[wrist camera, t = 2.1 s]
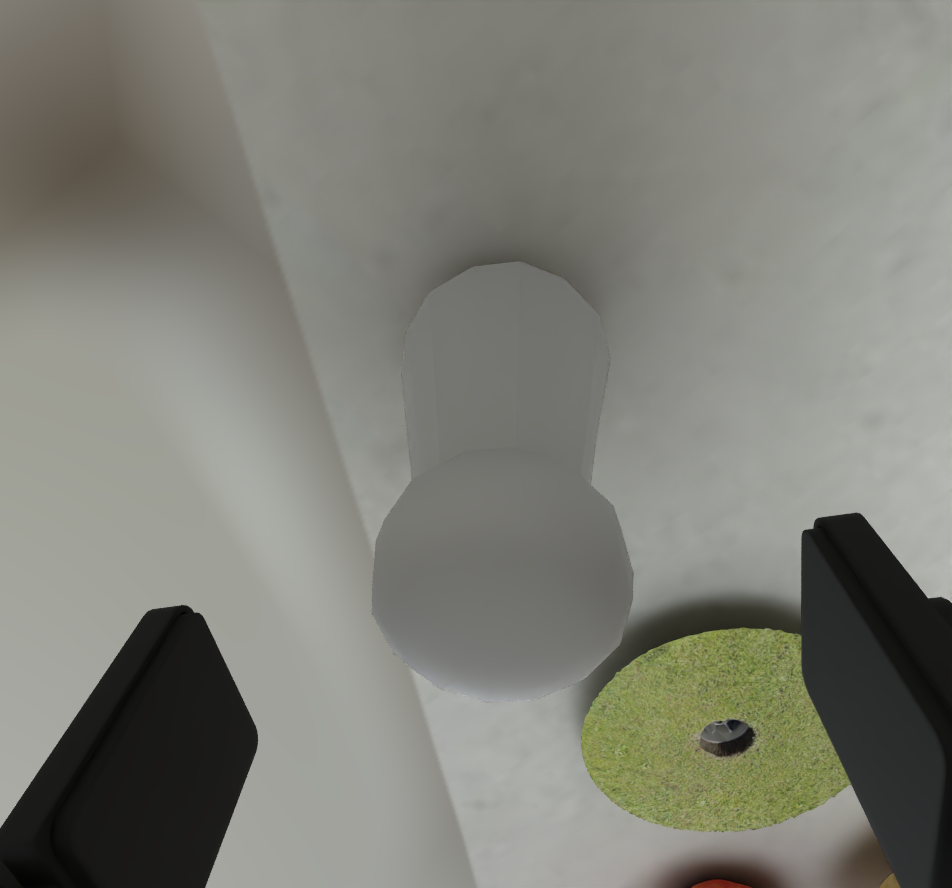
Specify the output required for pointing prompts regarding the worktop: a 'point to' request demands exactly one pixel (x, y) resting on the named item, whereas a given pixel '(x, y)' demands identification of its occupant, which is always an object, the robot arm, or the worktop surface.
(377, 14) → the worktop surface
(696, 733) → the mat
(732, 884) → the apple
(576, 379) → the salt shaker
